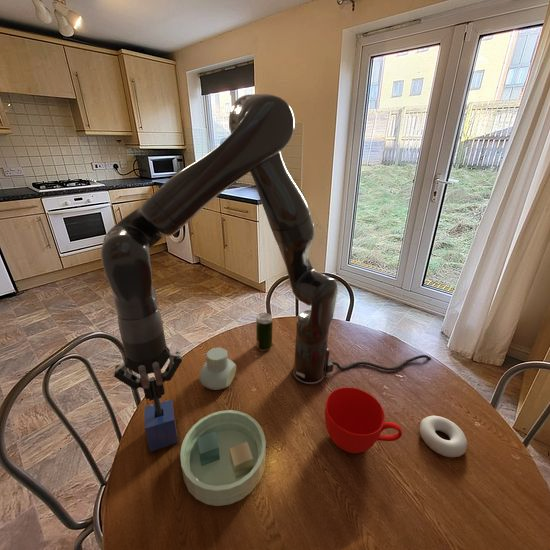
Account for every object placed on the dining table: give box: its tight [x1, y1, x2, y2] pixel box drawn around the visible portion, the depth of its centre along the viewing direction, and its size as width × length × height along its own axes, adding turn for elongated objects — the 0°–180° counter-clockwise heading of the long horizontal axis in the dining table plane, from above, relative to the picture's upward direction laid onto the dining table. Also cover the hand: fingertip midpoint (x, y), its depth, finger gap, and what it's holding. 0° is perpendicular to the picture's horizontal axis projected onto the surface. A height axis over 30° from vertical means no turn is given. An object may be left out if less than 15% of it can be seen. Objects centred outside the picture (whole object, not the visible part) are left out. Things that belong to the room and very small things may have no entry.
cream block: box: [229, 442, 253, 478], centre depth 62 cm, size 4×4×4 cm
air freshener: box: [198, 347, 237, 391], centre depth 83 cm, size 11×8×10 cm
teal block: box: [197, 432, 220, 466], centre depth 64 cm, size 4×4×4 cm
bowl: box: [179, 409, 267, 507], centre depth 63 cm, size 18×18×6 cm
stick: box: [149, 376, 162, 417], centre depth 65 cm, size 1×1×18 cm
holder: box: [143, 399, 179, 453], centre depth 67 cm, size 6×6×8 cm
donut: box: [419, 415, 468, 458], centre depth 69 cm, size 10×4×10 cm
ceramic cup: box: [324, 386, 403, 454], centre depth 67 cm, size 13×17×10 cm
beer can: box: [255, 312, 274, 352], centre depth 98 cm, size 5×5×12 cm
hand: (155, 396), depth 63 cm, fingers closed on stick, 1 cm apart
